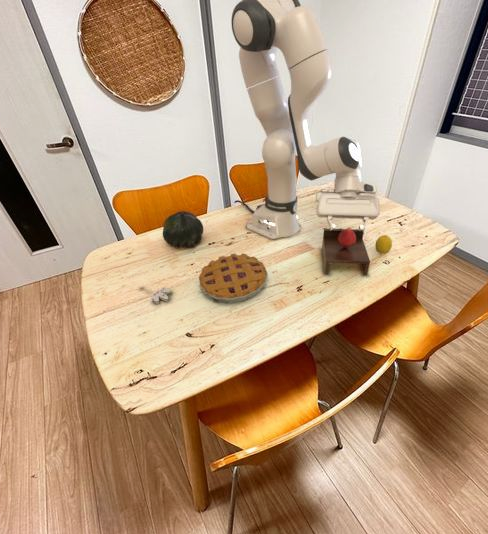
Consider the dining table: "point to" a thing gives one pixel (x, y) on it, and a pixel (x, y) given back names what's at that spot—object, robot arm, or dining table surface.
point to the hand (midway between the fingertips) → (347, 230)
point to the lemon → (383, 244)
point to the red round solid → (347, 238)
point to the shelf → (344, 251)
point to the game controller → (160, 295)
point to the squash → (182, 230)
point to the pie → (233, 278)
